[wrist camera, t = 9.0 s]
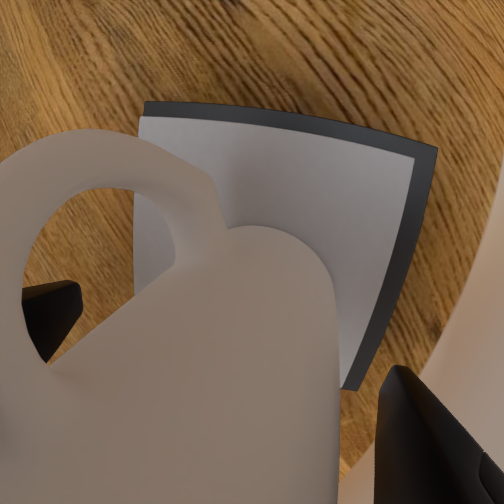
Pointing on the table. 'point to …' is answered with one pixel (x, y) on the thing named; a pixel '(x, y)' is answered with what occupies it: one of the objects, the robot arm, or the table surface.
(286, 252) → the mug
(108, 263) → the table surface
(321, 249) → the scale
